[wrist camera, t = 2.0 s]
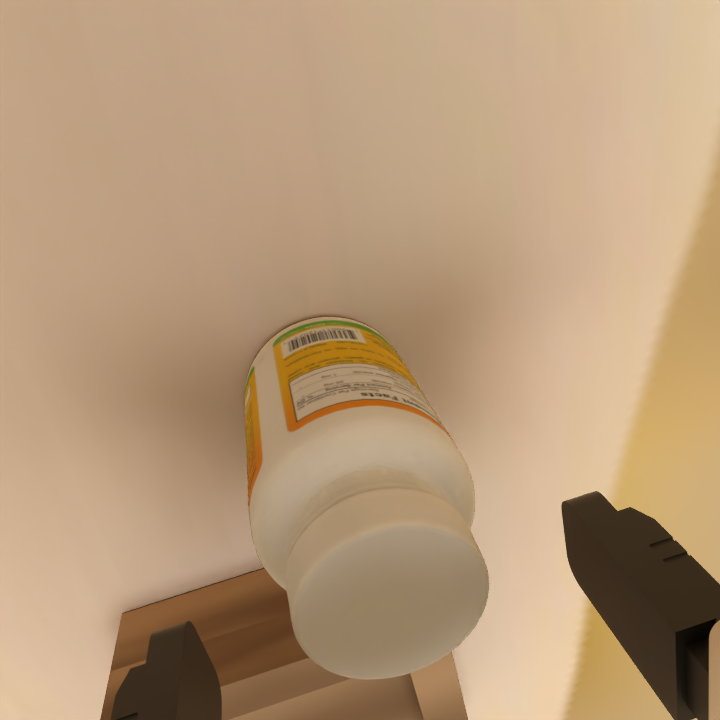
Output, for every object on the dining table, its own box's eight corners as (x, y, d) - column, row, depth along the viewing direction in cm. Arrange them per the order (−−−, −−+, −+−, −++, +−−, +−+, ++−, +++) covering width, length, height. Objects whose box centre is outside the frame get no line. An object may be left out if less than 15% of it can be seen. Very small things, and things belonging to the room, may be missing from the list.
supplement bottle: (332, 483, 22) (397, 738, 14) (209, 403, 20) (193, 645, 11) (435, 375, 21) (577, 576, 13) (317, 278, 19) (389, 440, 10)
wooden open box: (122, 614, 23) (98, 727, 19) (406, 523, 24) (442, 613, 20) (219, 785, 28) (217, 905, 24) (452, 705, 28) (489, 807, 24)
